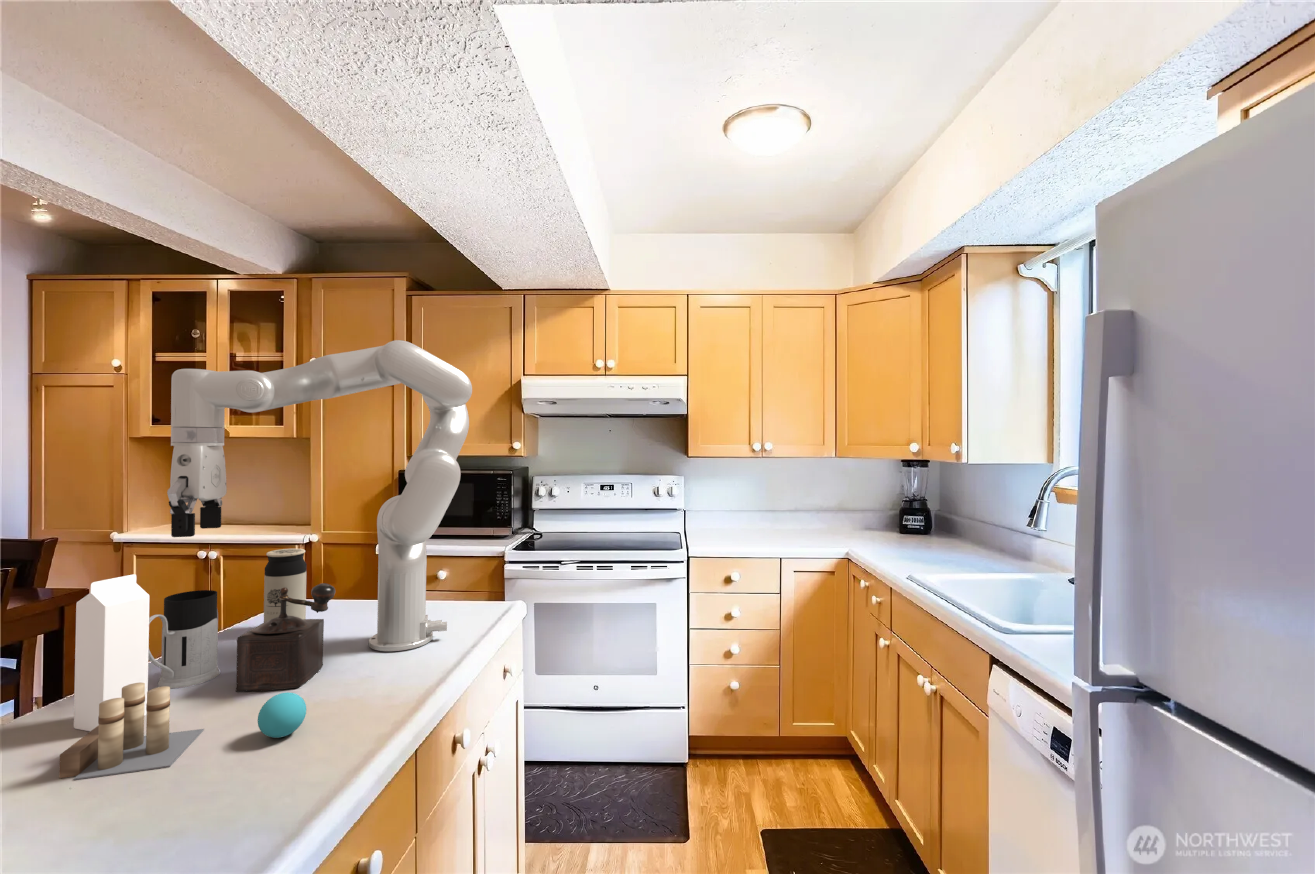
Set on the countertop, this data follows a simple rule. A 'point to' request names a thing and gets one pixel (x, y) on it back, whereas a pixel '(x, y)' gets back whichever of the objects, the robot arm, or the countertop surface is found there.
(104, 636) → the milk
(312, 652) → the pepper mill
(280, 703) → the ball
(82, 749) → the back wall
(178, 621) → the glass holder
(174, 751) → the pin deck mark
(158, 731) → the front pin
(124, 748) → the rear pin
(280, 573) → the travel mug
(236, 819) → the countertop surface
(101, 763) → the rear pin
